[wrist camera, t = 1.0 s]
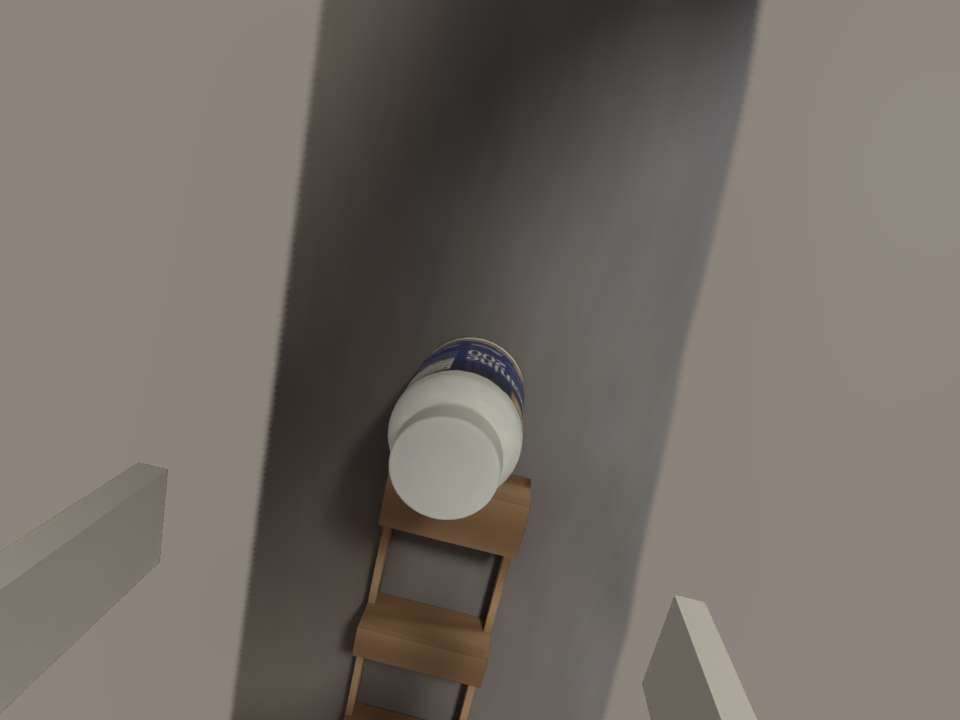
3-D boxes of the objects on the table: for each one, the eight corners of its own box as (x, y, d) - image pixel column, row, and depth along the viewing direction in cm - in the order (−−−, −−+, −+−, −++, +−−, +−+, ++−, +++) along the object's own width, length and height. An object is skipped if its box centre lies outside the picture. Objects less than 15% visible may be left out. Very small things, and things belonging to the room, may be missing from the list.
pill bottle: (546, 398, 30) (552, 489, 20) (461, 454, 31) (431, 564, 21) (482, 313, 29) (458, 366, 19) (398, 374, 30) (337, 451, 21)
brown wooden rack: (401, 447, 31) (388, 472, 28) (530, 479, 31) (530, 507, 28) (342, 737, 36) (326, 783, 33) (452, 765, 36) (445, 814, 33)
